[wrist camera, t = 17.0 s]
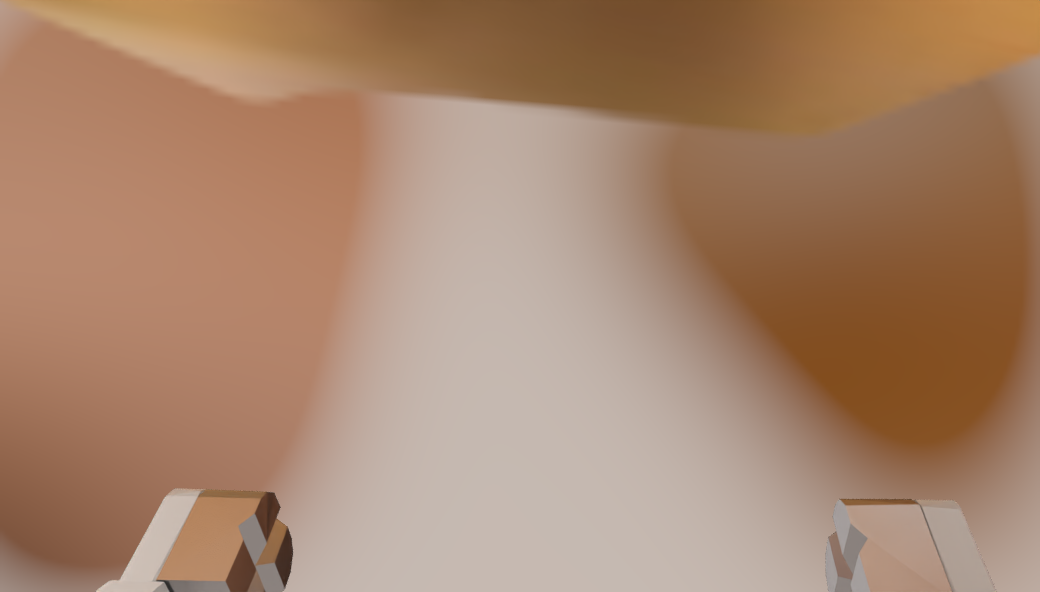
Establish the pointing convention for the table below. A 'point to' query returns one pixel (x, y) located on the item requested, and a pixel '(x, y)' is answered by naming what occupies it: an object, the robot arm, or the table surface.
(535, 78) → the table surface
